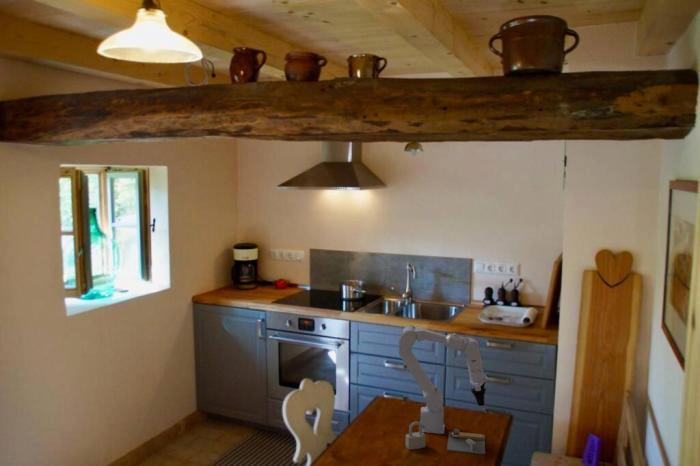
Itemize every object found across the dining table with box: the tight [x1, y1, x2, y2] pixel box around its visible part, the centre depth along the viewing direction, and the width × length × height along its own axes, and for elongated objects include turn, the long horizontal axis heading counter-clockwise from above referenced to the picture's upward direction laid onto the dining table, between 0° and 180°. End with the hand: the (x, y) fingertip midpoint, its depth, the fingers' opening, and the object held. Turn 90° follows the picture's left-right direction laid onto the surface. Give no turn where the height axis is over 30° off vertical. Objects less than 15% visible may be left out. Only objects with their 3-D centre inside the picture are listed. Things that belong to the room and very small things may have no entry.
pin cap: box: [453, 428, 460, 434], centre depth 225 cm, size 2×2×1 cm
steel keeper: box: [466, 439, 476, 450], centre depth 216 cm, size 4×2×2 cm, turn 22°
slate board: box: [446, 431, 486, 455], centre depth 221 cm, size 14×16×1 cm
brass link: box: [451, 431, 483, 440], centre depth 225 cm, size 12×4×1 cm, turn 77°
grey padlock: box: [405, 421, 426, 451], centre depth 218 cm, size 7×4×10 cm, turn 109°
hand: (481, 401), depth 229 cm, fingers open, 7 cm apart
